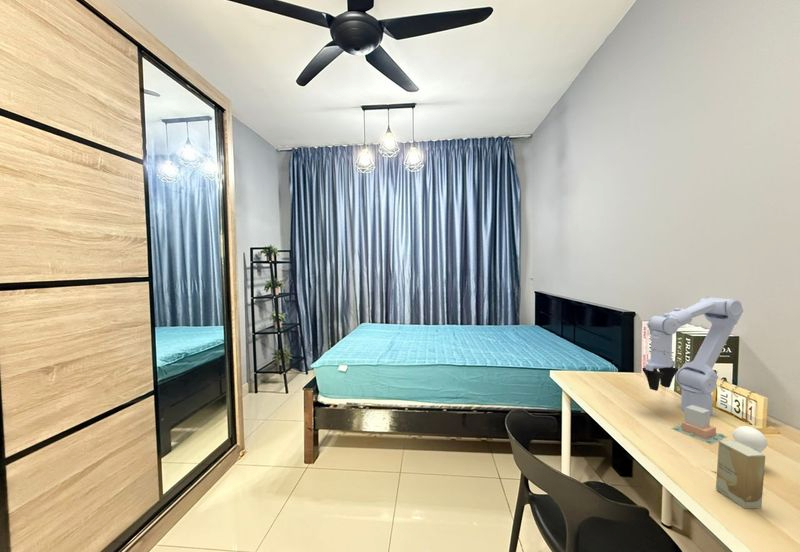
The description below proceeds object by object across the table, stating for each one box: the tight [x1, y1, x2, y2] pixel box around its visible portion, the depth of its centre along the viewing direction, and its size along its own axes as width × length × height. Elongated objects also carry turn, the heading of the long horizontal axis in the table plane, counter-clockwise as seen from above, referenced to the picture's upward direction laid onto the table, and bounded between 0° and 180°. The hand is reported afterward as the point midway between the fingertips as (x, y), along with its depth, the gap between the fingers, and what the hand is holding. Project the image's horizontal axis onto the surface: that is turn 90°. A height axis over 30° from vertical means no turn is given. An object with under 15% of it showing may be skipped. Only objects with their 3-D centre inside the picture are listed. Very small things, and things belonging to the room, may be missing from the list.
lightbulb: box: [732, 425, 768, 454], centre depth 83 cm, size 6×6×11 cm
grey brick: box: [684, 405, 711, 429], centre depth 100 cm, size 4×4×5 cm
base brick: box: [681, 421, 717, 439], centre depth 100 cm, size 6×6×2 cm
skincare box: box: [715, 439, 766, 510], centre depth 72 cm, size 6×4×12 cm
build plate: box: [671, 424, 728, 445], centre depth 100 cm, size 10×10×1 cm
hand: (659, 388), depth 112 cm, fingers open, 7 cm apart
